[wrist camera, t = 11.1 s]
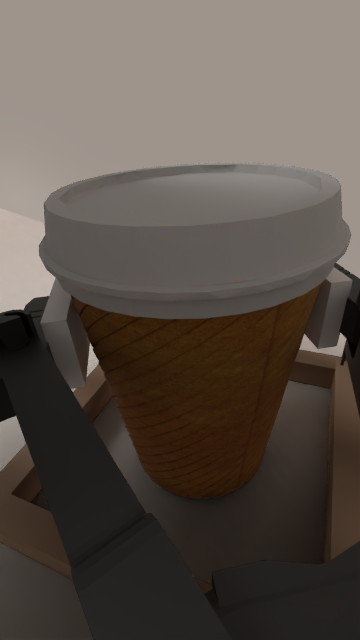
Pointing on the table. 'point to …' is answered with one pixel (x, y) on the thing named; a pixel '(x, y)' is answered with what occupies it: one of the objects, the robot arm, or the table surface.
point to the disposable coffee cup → (196, 302)
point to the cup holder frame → (47, 548)
